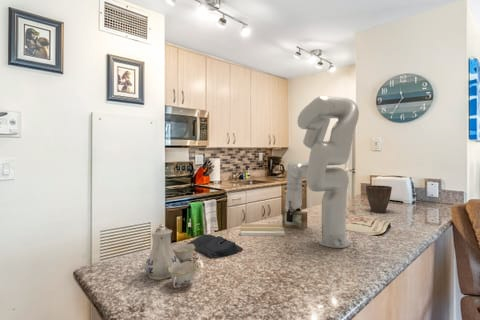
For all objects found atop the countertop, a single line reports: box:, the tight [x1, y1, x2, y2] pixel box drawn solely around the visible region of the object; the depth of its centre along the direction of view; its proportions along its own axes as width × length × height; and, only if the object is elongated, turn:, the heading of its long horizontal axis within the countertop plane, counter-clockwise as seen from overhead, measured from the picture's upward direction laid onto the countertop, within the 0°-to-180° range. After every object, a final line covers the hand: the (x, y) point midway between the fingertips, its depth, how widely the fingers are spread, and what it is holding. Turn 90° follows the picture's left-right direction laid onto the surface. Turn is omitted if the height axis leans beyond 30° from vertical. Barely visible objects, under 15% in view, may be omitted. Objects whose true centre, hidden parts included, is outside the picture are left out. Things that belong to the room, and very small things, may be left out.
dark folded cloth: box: [187, 233, 244, 260], centre depth 113 cm, size 15×22×5 cm
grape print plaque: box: [346, 214, 392, 236], centre depth 146 cm, size 28×6×30 cm
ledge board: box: [240, 223, 286, 237], centre depth 134 cm, size 20×12×3 cm, turn 88°
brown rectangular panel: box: [281, 209, 308, 230], centre depth 144 cm, size 12×4×8 cm, turn 53°
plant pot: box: [365, 184, 393, 214], centre depth 177 cm, size 15×15×16 cm
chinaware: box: [143, 222, 199, 289], centre depth 90 cm, size 28×17×17 cm, turn 16°
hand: (293, 219), depth 144 cm, fingers open, 9 cm apart
